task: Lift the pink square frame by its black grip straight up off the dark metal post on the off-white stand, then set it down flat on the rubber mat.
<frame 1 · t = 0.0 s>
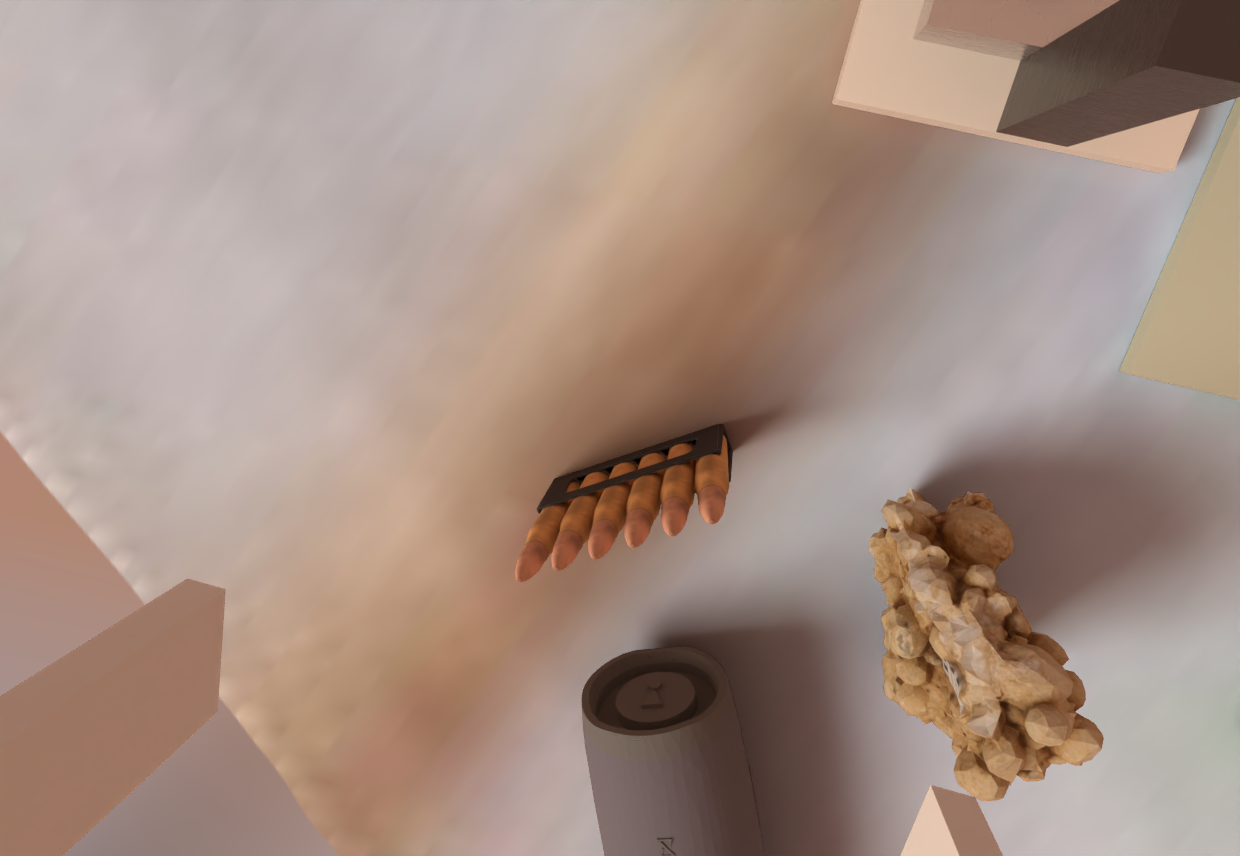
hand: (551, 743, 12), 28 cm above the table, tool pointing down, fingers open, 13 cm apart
mineral formation: (916, 568, 40), on the table
ammunition clip: (641, 464, 41), on the table
bluetooth speaker: (687, 783, 46), on the table
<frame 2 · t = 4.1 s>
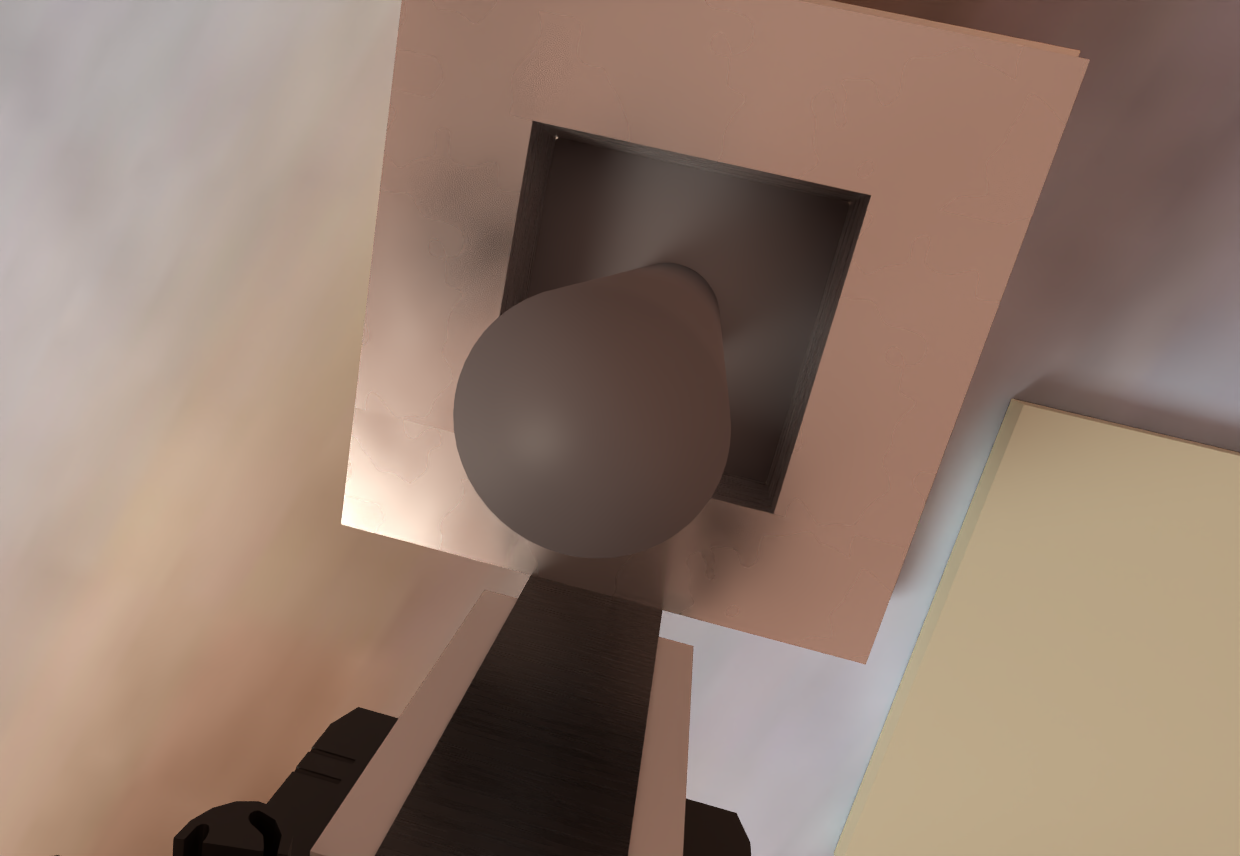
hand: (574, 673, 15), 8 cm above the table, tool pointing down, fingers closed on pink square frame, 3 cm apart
pink square frame: (665, 317, 15), point 5 cm above the table, touching gripper, stand
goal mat: (1135, 708, 22), on the table
stand: (676, 301, 20), on the table
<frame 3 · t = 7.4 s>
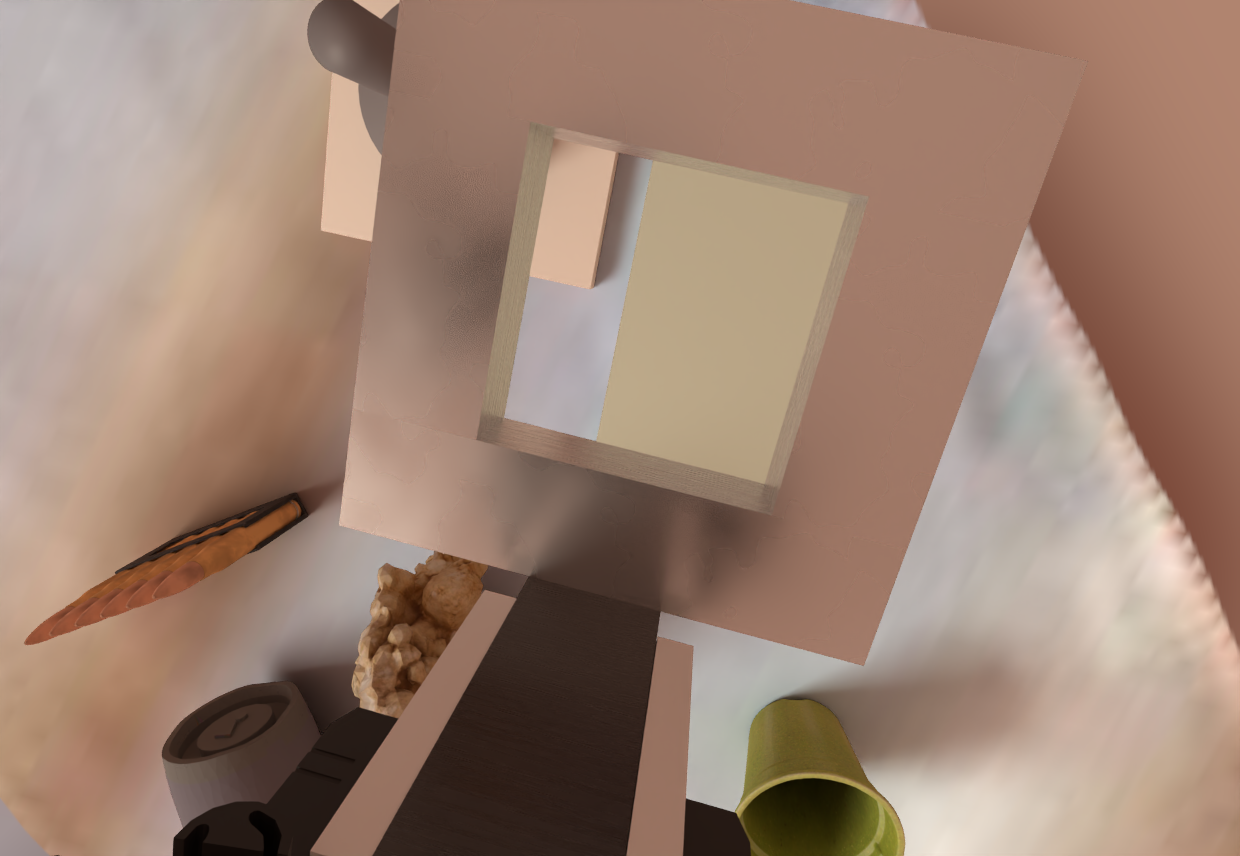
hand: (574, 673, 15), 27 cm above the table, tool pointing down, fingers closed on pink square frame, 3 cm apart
mineral formation: (473, 611, 47), on the table
pink square frame: (663, 318, 15), point 24 cm above the table, touching gripper
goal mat: (742, 338, 39), on the table
ammunition clip: (241, 526, 47), on the table
stand: (480, 112, 38), on the table
plant pot: (796, 733, 46), on the table
bluetooth speaker: (327, 795, 53), on the table
when the fingers open (6 cm above the table, at t = 10.9 s): pink square frame drops 2 cm, resting on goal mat.
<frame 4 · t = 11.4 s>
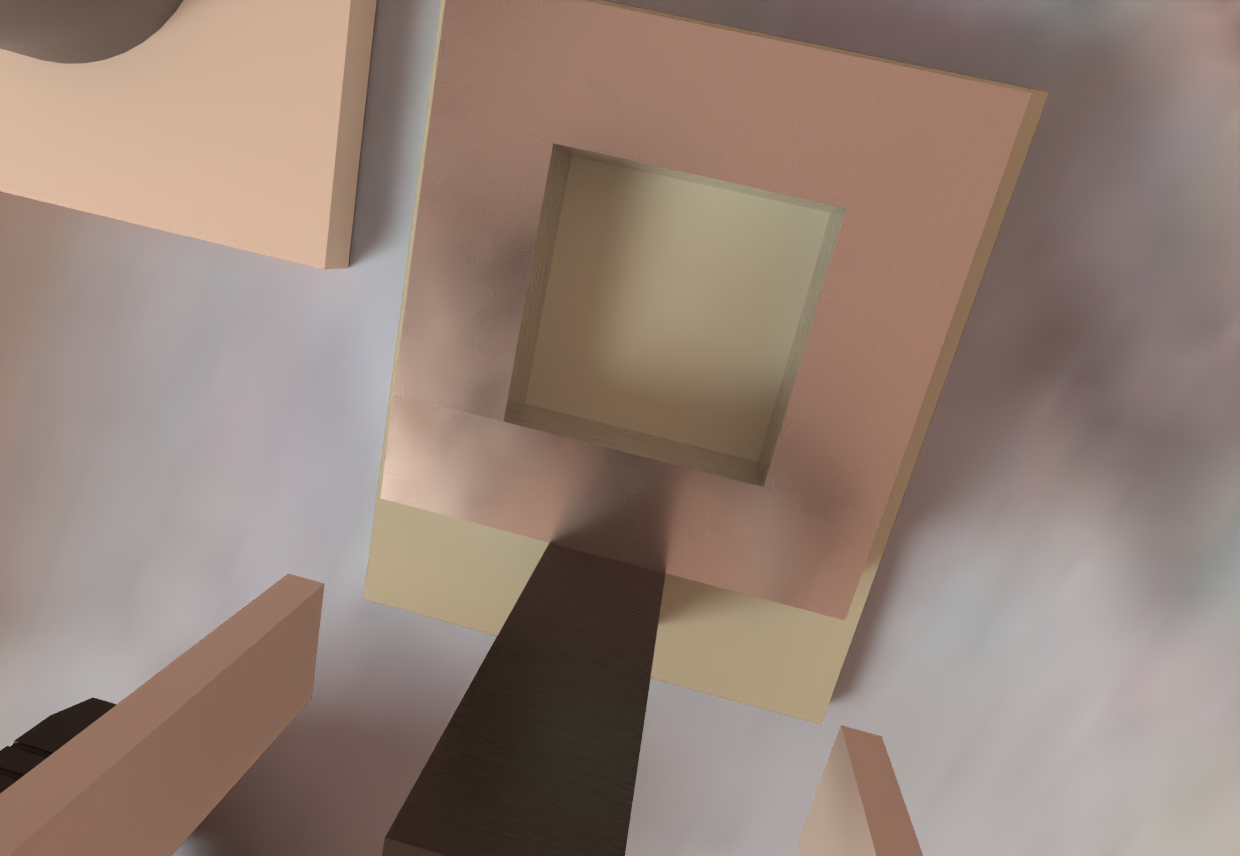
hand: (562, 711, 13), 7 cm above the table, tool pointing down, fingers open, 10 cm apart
pink square frame: (668, 314, 17), point 1 cm above the table, touching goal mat
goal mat: (655, 379, 19), on the table
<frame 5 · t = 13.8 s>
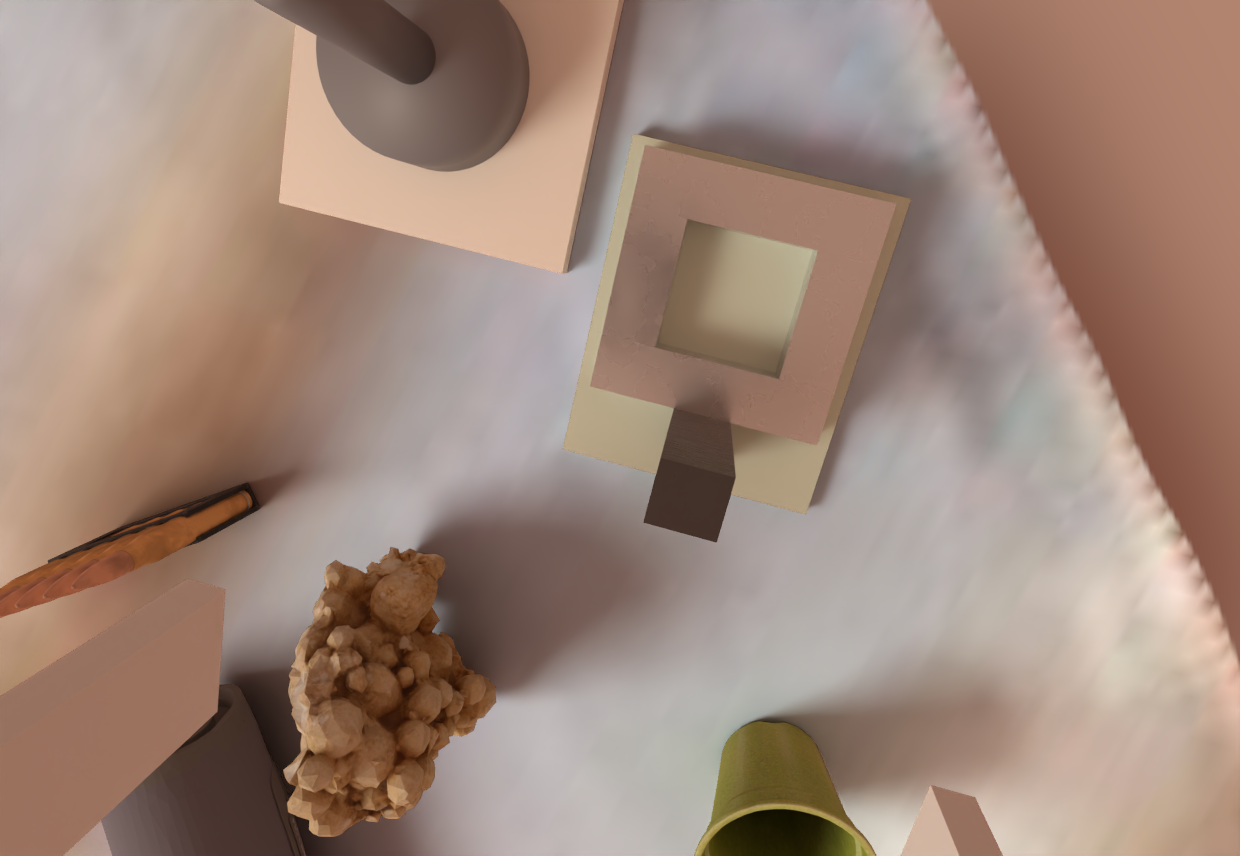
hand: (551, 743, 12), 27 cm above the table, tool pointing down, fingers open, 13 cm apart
mineral formation: (432, 616, 44), on the table
pink square frame: (732, 298, 36), point 1 cm above the table, touching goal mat
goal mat: (723, 331, 37), on the table
ammunition clip: (189, 517, 44), on the table
stand: (451, 82, 36), on the table
plant pot: (771, 758, 43), on the table
bluetooth speaker: (273, 808, 50), on the table
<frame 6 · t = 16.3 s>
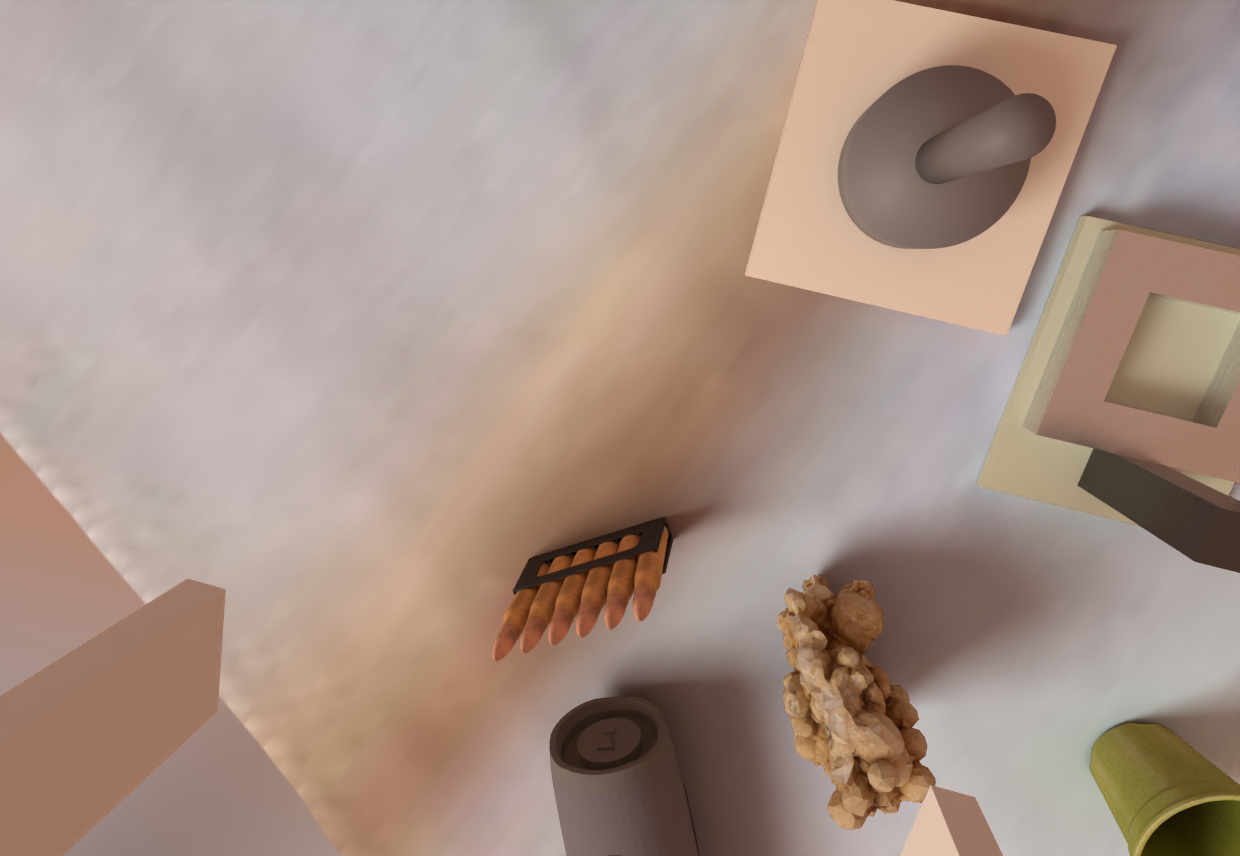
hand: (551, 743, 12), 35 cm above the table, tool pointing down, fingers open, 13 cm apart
mineral formation: (823, 633, 49), on the table
pink square frame: (1161, 355, 41), point 1 cm above the table, touching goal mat
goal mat: (1140, 383, 42), on the table
ammunition clip: (600, 548, 50), on the table
stand: (912, 170, 41), on the table
plant pot: (1133, 755, 48), on the table
bluetooth speaker: (642, 806, 55), on the table
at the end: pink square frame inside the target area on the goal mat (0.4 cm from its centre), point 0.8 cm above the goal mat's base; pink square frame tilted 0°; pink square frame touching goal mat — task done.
